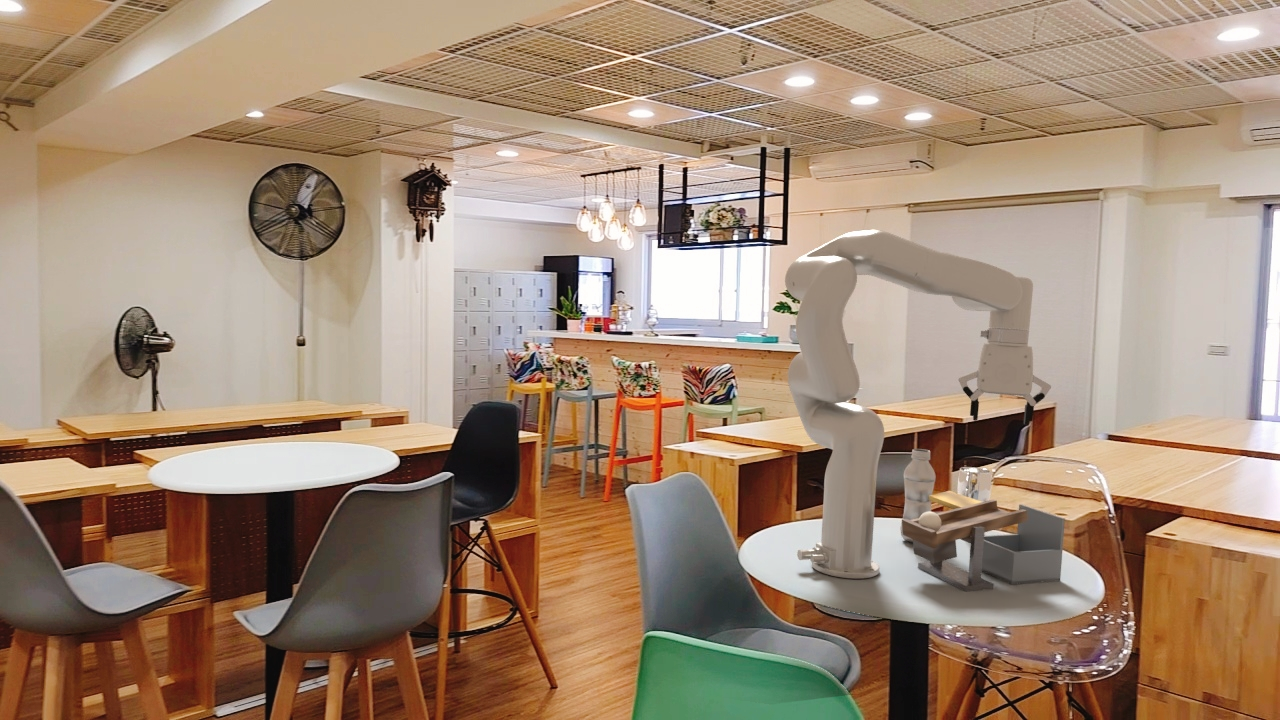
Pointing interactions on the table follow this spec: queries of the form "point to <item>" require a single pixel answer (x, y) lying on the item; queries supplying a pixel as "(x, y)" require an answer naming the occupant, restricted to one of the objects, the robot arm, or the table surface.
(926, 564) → the pivot stand
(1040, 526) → the cup
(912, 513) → the plastic bottle
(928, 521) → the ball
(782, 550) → the table surface
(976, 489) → the beer glass
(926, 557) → the lever chute
